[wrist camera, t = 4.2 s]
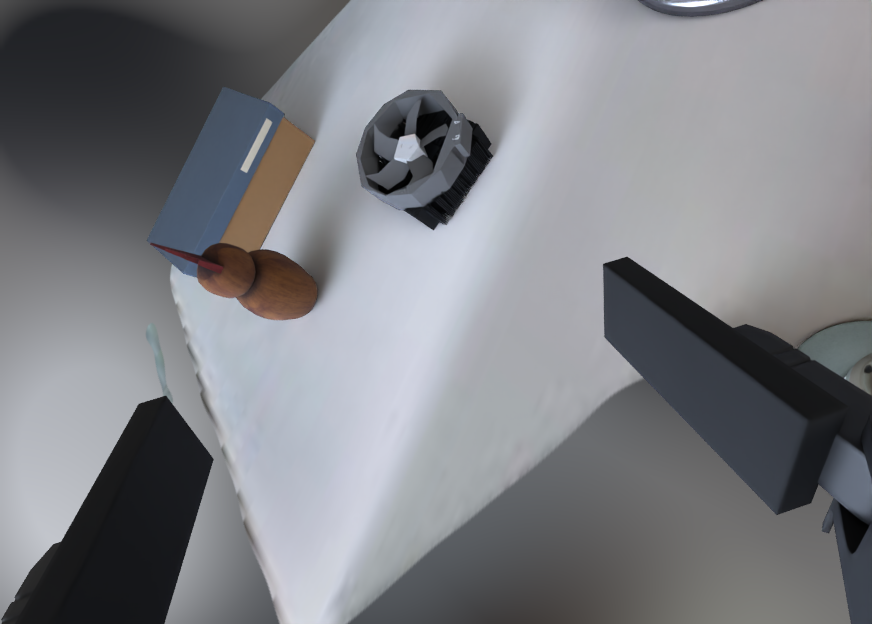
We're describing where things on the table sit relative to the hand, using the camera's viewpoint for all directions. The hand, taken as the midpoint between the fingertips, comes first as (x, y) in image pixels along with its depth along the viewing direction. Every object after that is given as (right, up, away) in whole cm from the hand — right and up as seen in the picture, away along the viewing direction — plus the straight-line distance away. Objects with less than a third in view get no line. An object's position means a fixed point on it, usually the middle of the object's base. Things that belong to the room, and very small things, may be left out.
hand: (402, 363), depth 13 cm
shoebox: (-21, +15, +41) cm, 49 cm away
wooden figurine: (-13, +3, +34) cm, 36 cm away
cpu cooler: (+1, +15, +29) cm, 32 cm away
